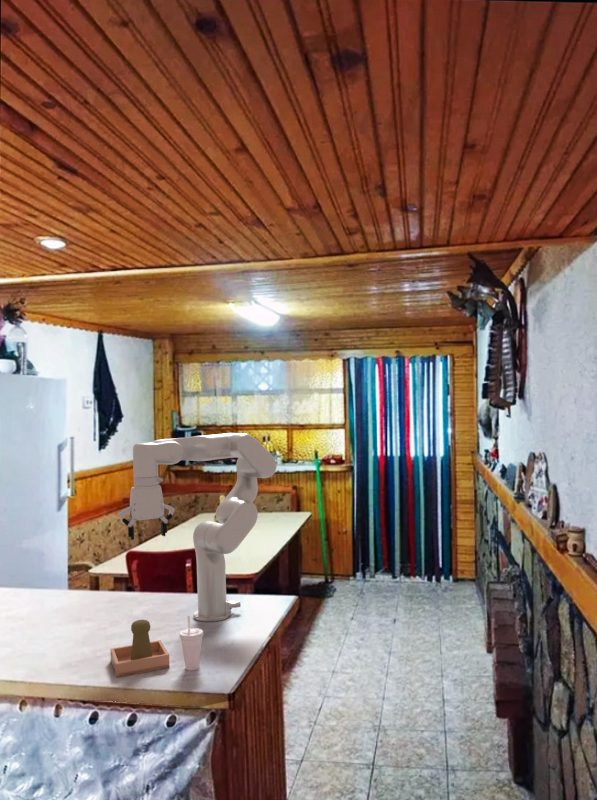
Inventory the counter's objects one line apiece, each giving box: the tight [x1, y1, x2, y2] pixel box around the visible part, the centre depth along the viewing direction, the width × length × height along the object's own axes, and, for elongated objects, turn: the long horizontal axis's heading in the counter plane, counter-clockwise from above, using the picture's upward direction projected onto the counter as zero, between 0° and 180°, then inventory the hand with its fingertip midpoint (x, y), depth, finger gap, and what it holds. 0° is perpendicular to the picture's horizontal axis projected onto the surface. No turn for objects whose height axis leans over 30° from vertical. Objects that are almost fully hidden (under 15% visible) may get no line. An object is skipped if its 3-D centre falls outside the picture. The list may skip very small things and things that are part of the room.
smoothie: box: [179, 615, 204, 671], centre depth 176 cm, size 6×6×14 cm
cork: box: [130, 619, 152, 660], centre depth 180 cm, size 6×6×11 cm
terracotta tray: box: [110, 639, 170, 678], centre depth 179 cm, size 14×12×4 cm
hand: (147, 537), depth 202 cm, fingers open, 9 cm apart
